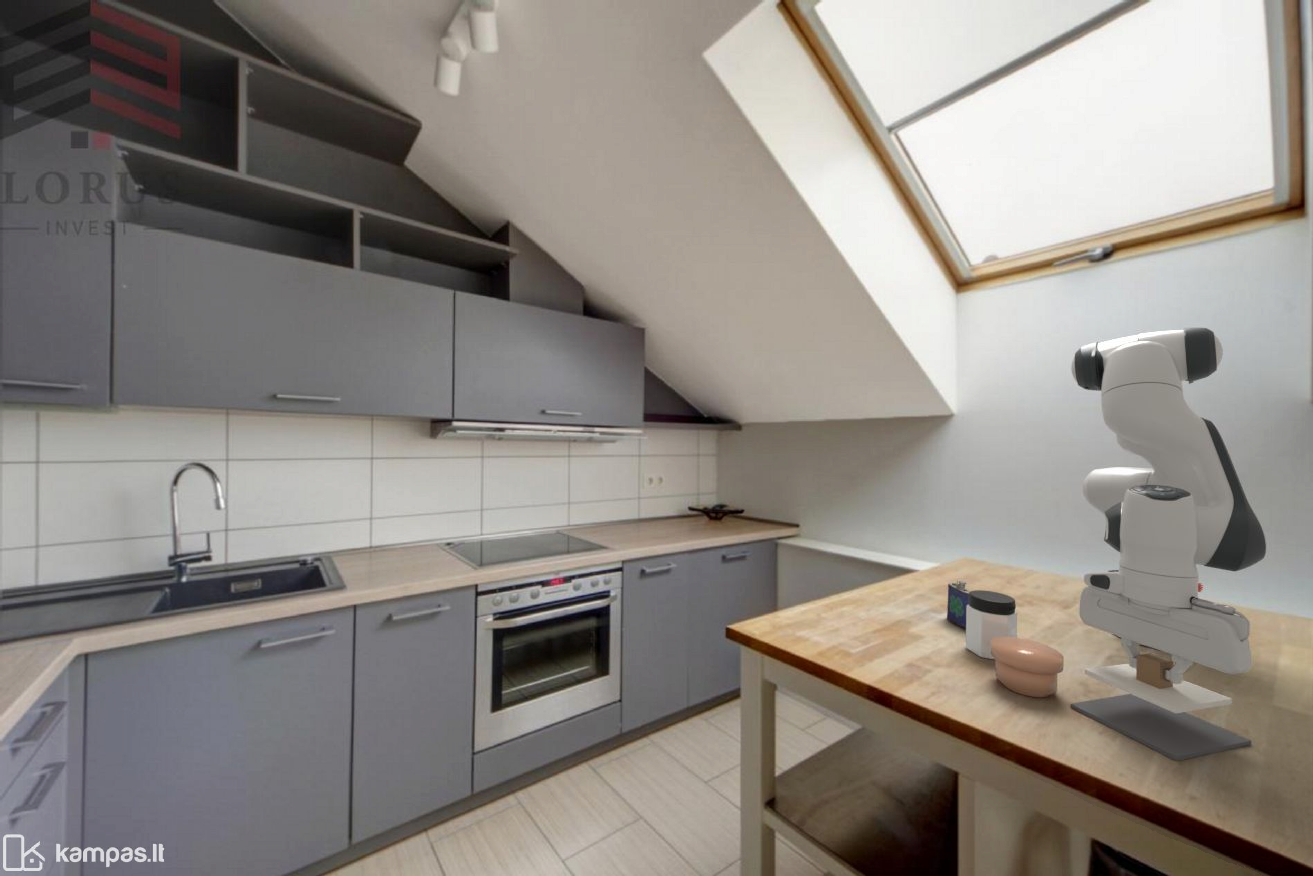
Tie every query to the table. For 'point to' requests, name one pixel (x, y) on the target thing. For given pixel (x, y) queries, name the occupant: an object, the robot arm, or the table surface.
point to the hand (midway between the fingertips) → (1154, 675)
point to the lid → (1158, 685)
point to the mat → (1160, 727)
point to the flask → (957, 603)
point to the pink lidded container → (1026, 666)
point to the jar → (989, 620)
